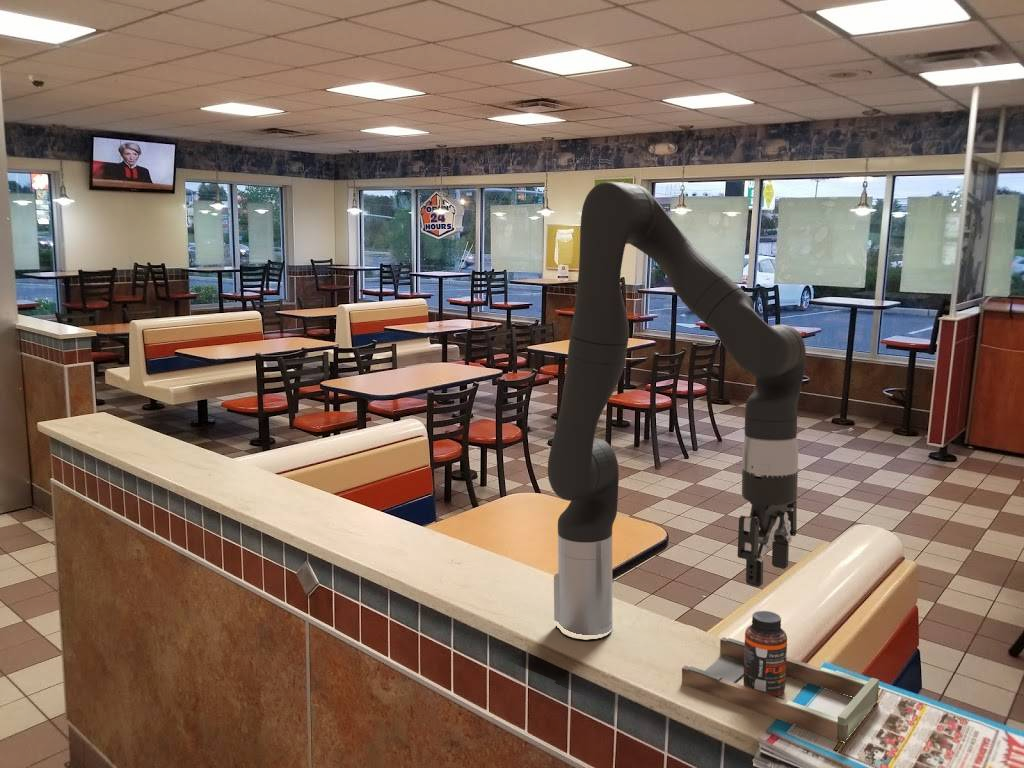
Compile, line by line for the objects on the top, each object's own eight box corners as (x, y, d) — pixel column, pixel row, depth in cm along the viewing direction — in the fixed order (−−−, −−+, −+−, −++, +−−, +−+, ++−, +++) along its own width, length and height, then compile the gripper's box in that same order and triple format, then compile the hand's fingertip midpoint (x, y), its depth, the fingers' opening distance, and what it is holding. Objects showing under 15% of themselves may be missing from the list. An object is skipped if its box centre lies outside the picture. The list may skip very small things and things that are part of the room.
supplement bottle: (768, 703, 116) (770, 629, 114) (734, 686, 121) (736, 614, 119) (793, 690, 119) (796, 617, 118) (760, 674, 124) (761, 604, 122)
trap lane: (681, 683, 122) (682, 661, 121) (723, 651, 131) (723, 631, 131) (844, 743, 106) (845, 718, 105) (877, 702, 115) (878, 679, 115)
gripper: (766, 453, 123) (764, 556, 125) (721, 473, 112) (720, 584, 115) (815, 460, 118) (812, 567, 120) (773, 481, 107) (770, 598, 110)
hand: (767, 576), depth 117 cm, fingers open, 8 cm apart
